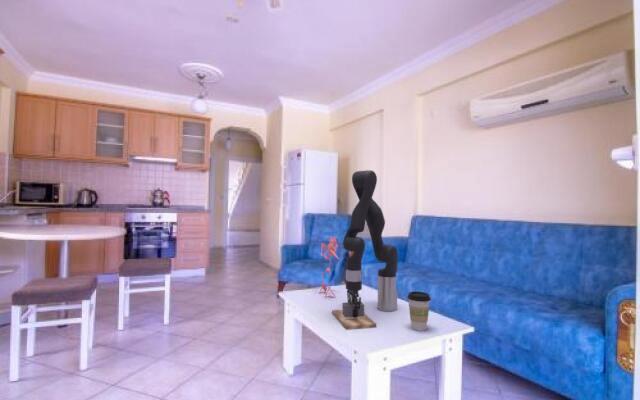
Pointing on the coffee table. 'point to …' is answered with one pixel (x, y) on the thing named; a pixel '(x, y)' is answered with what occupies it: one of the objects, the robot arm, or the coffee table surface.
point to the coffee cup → (419, 310)
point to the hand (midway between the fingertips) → (353, 315)
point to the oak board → (354, 321)
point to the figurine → (332, 250)
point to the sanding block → (348, 311)
